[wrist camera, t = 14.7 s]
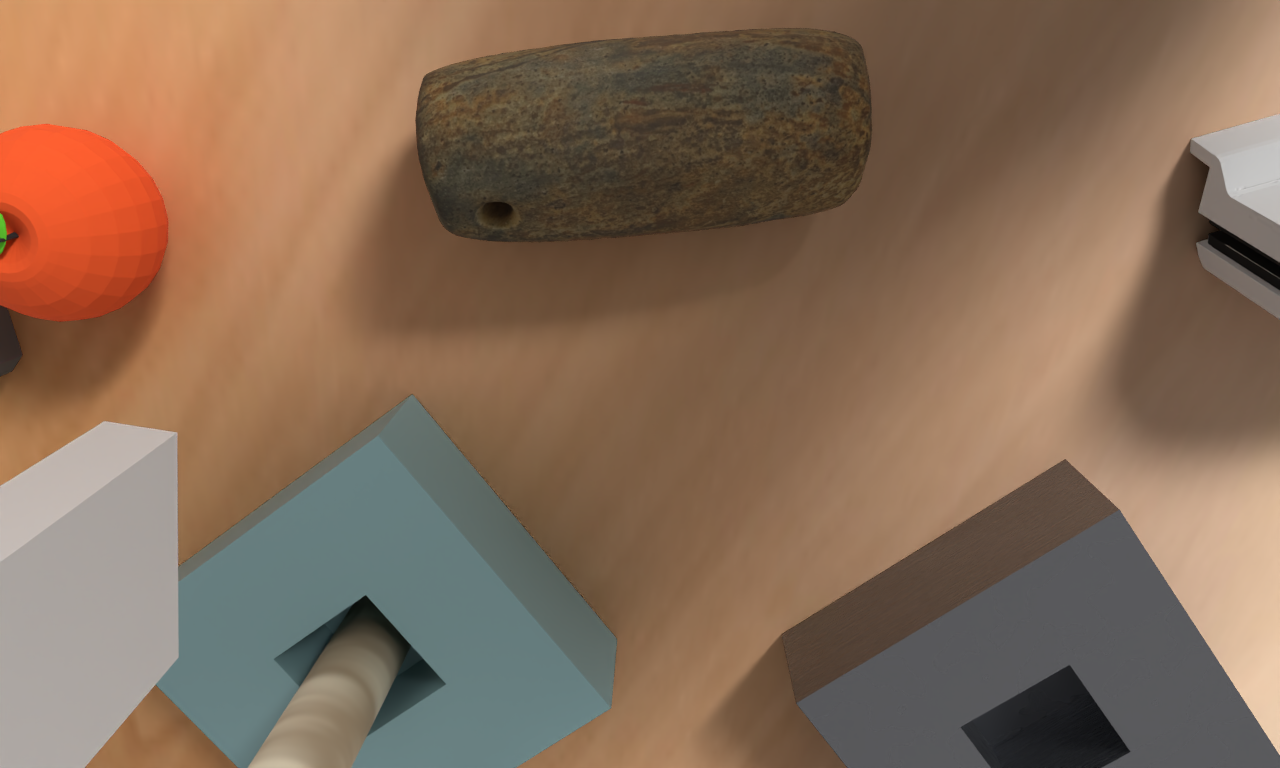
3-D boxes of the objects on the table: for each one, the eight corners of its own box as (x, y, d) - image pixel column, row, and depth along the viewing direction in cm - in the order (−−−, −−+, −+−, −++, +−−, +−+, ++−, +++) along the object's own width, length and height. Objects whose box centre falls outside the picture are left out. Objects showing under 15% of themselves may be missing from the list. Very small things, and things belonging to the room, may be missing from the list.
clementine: (-11, 263, 39) (-154, 301, 32) (6, 89, 37) (-142, 90, 30) (187, 320, 39) (88, 369, 33) (214, 150, 38) (115, 165, 31)
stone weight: (472, 254, 39) (434, 288, 32) (434, 70, 37) (385, 67, 30) (855, 195, 38) (893, 217, 31) (836, 2, 36) (874, -16, 29)
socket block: (168, 573, 43) (106, 635, 38) (412, 394, 40) (378, 435, 35) (377, 792, 46) (344, 874, 41) (617, 639, 43) (611, 708, 38)
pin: (336, 613, 42) (189, 832, 30) (387, 575, 41) (260, 784, 29) (382, 662, 43) (257, 898, 30) (433, 626, 42) (328, 852, 30)
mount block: (781, 634, 43) (796, 703, 38) (1065, 459, 40) (1119, 509, 35) (949, 848, 46) (982, 937, 41) (1223, 699, 43) (1292, 775, 39)
